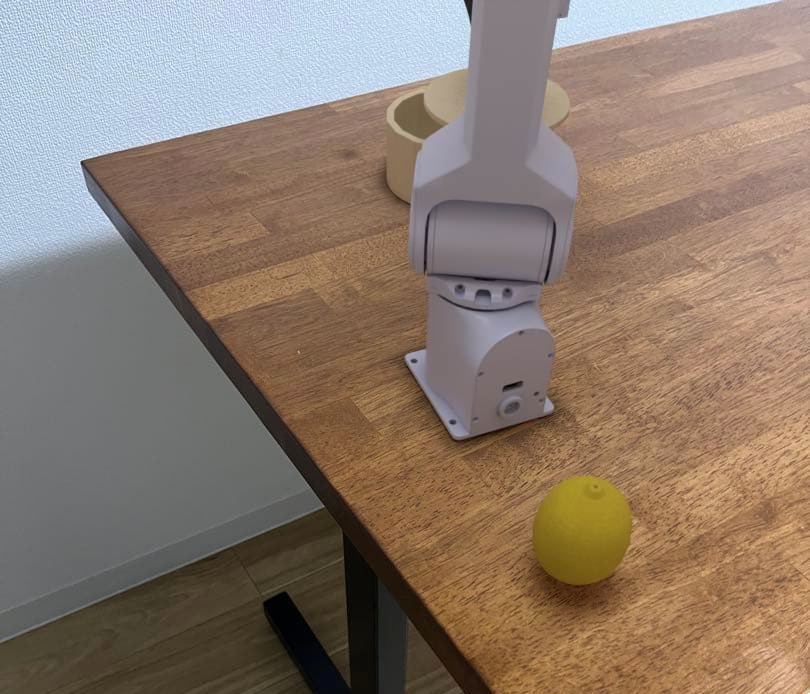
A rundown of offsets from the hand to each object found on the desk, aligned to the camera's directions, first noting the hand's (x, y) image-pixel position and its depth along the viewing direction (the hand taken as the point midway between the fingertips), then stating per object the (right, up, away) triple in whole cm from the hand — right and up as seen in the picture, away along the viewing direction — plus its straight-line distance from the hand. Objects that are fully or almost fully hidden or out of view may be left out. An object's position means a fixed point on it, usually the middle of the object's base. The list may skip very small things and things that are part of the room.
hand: (498, 84), depth 67 cm
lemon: (+2, -40, -17) cm, 44 cm away
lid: (0, -1, +1) cm, 2 cm away
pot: (-4, -3, +10) cm, 12 cm away
